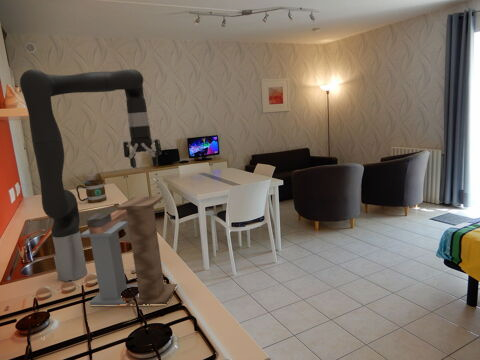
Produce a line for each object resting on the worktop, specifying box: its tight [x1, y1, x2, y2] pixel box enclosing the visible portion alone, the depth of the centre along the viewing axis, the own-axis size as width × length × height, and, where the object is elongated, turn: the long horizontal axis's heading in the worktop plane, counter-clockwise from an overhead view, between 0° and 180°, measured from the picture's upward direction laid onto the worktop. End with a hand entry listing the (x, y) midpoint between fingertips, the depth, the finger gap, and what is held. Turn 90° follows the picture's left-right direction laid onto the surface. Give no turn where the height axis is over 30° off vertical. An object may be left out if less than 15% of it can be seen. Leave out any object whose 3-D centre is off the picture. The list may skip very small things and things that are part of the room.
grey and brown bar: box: [86, 210, 127, 234], centre depth 113 cm, size 4×19×4 cm, turn 173°
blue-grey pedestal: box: [80, 220, 138, 306], centre depth 112 cm, size 12×11×24 cm
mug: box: [75, 179, 107, 204], centre depth 253 cm, size 20×14×15 cm
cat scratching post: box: [116, 195, 178, 305], centre depth 109 cm, size 12×11×32 cm
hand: (144, 167), depth 135 cm, fingers open, 8 cm apart
